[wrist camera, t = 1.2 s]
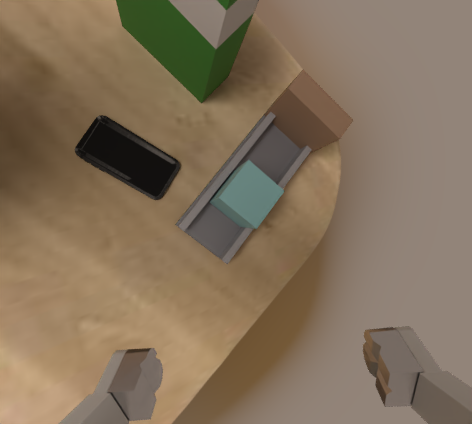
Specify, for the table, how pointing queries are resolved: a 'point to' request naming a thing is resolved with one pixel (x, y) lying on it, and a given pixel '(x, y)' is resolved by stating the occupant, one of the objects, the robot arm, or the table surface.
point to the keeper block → (247, 196)
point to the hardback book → (190, 36)
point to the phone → (127, 157)
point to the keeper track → (268, 158)
